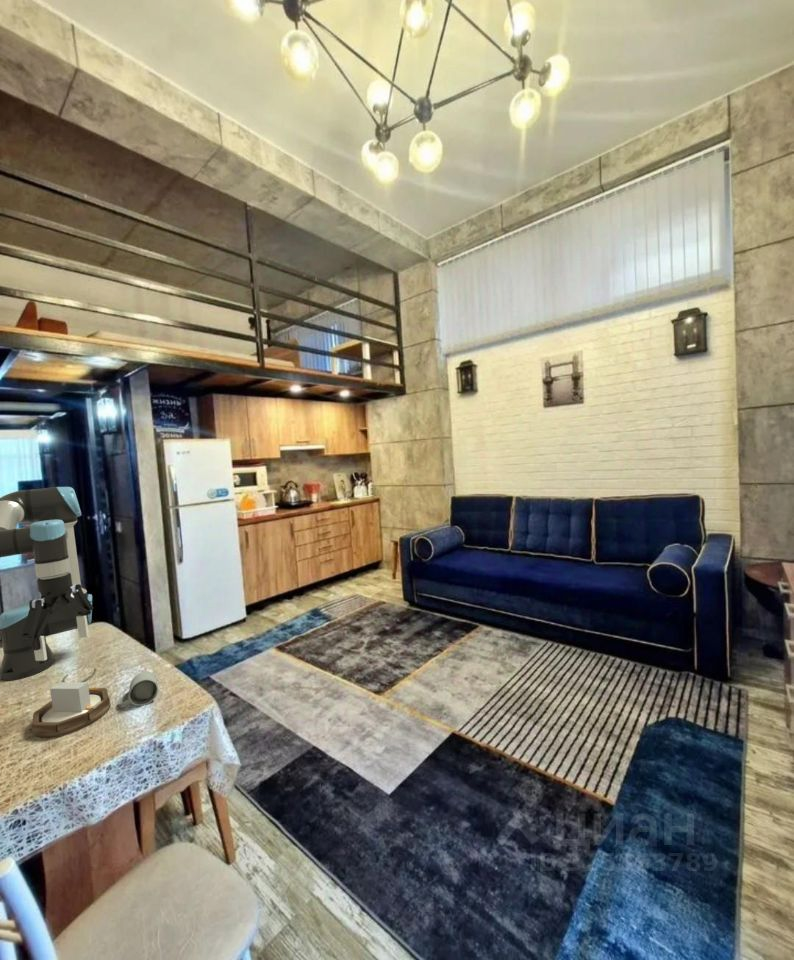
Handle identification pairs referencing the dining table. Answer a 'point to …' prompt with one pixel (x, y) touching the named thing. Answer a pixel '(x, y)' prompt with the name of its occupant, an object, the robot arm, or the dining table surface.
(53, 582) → the robot arm
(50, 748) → the dining table surface
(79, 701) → the dial
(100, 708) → the dial housing
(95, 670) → the pliers
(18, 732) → the dining table surface
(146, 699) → the ceramic mug
